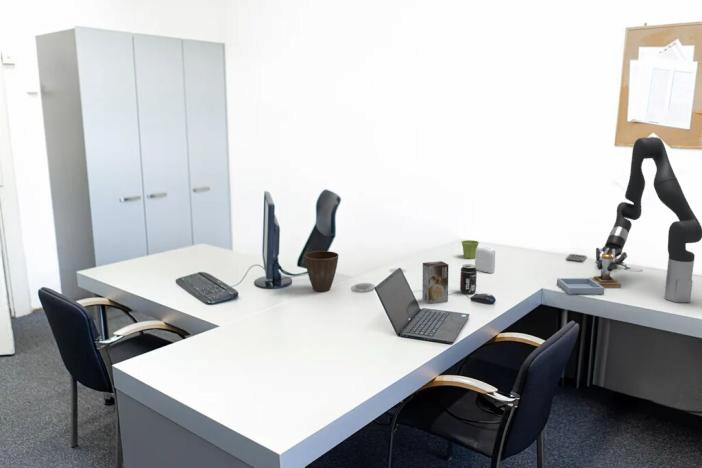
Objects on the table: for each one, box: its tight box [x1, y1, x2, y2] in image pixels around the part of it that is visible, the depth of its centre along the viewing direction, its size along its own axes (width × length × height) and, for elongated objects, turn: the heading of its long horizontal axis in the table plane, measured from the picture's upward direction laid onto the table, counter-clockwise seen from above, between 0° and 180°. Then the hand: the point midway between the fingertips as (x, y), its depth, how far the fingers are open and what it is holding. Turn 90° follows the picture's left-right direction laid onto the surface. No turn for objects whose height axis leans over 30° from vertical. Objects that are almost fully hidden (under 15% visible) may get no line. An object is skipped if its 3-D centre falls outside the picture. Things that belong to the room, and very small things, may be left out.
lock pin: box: [599, 253, 613, 280], centre depth 258 cm, size 4×4×12 cm
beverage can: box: [459, 263, 478, 295], centre depth 249 cm, size 7×7×12 cm
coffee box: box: [421, 260, 449, 304], centre depth 238 cm, size 9×6×16 cm
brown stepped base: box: [588, 275, 622, 289], centre depth 260 cm, size 10×10×3 cm
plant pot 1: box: [304, 250, 339, 293], centre depth 254 cm, size 15×15×16 cm
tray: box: [556, 277, 606, 296], centre depth 253 cm, size 15×15×3 cm
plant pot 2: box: [460, 239, 480, 260], centre depth 309 cm, size 9×9×9 cm
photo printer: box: [474, 245, 496, 274], centre depth 282 cm, size 10×4×12 cm, turn 39°
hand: (604, 269), depth 257 cm, fingers closed on lock pin, 4 cm apart
